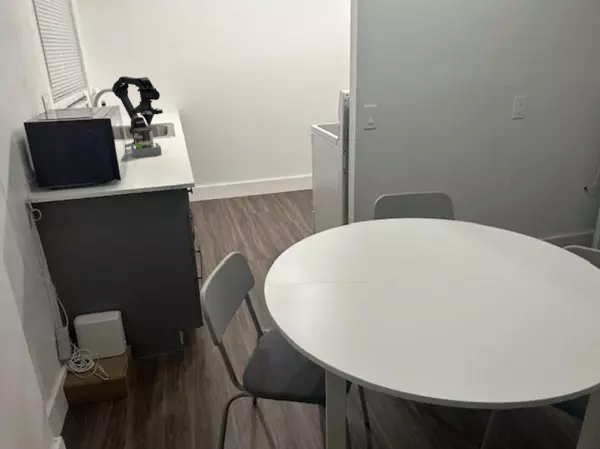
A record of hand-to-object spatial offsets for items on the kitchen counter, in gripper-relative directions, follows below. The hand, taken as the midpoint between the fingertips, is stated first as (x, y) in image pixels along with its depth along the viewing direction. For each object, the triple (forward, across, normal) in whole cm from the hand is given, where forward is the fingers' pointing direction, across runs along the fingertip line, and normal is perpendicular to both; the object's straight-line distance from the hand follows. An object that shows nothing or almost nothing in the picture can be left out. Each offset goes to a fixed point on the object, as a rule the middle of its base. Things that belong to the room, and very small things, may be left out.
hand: (149, 125), depth 288 cm
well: (+12, +14, -22) cm, 29 cm away
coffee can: (+12, +13, -22) cm, 28 cm away
